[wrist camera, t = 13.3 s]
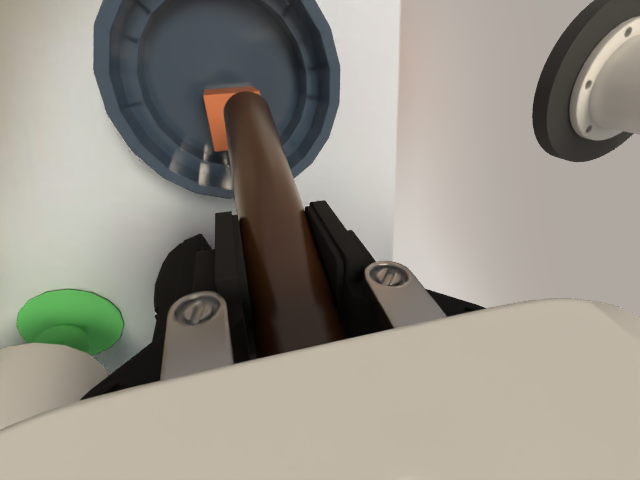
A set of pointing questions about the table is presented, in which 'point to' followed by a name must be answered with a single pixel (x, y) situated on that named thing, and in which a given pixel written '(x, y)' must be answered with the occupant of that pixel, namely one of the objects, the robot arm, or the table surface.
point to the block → (220, 112)
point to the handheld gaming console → (176, 279)
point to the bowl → (214, 78)
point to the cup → (56, 352)
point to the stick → (276, 237)
